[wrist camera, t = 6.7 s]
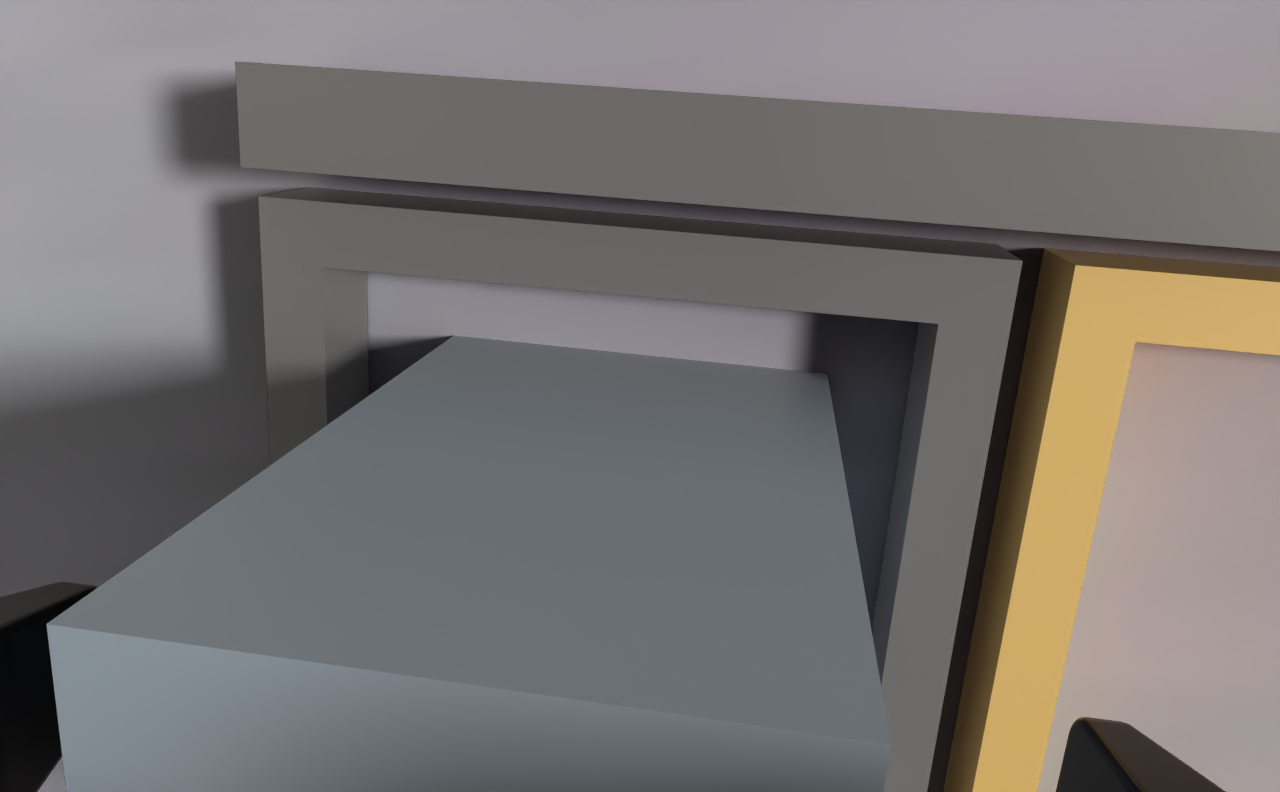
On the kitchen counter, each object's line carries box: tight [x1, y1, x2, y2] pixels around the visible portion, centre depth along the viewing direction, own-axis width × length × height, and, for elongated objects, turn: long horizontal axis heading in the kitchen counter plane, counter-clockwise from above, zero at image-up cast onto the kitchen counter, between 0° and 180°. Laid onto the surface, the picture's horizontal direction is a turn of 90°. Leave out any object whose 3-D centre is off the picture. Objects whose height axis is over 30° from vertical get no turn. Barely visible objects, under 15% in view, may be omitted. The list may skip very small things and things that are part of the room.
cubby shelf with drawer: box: [235, 62, 1280, 792], centre depth 11 cm, size 9×16×2 cm, turn 86°
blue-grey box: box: [46, 336, 891, 792], centre depth 9 cm, size 4×4×8 cm
